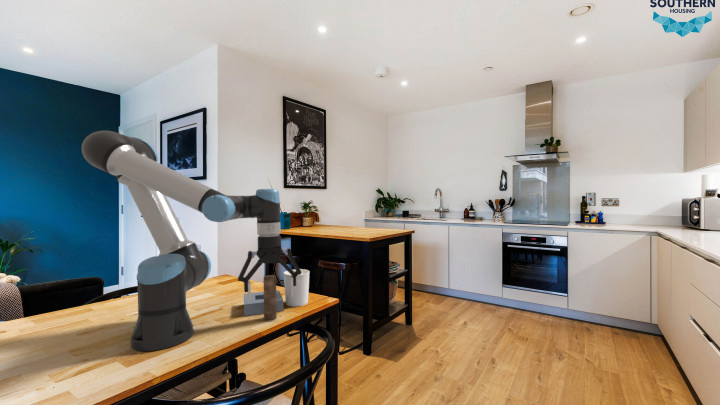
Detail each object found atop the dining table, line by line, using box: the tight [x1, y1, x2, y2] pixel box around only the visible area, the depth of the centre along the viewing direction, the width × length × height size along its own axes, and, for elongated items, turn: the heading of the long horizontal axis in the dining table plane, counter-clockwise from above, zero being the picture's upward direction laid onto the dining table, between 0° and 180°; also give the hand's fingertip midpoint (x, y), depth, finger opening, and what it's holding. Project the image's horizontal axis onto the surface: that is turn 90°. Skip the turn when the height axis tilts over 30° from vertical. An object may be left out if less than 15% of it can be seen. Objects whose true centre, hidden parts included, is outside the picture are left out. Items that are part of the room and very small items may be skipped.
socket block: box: [243, 289, 284, 317], centre depth 115 cm, size 13×13×4 cm
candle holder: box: [283, 268, 310, 308], centre depth 119 cm, size 10×10×12 cm
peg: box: [263, 274, 277, 322], centre depth 104 cm, size 4×4×14 cm
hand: (271, 298), depth 104 cm, fingers open, 13 cm apart
